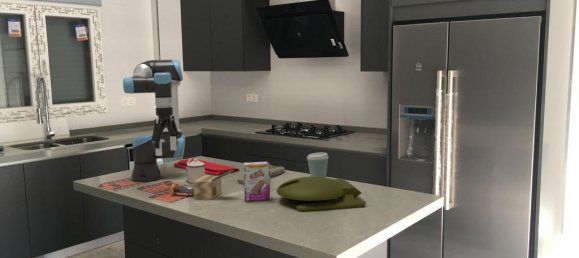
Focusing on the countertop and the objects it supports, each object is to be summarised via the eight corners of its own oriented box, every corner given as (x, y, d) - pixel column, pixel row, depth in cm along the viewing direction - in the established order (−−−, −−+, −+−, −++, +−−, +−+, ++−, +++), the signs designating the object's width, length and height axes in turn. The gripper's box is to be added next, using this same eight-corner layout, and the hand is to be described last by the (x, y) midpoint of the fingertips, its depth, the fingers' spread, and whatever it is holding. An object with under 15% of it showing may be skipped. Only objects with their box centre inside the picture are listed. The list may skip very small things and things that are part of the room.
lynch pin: (170, 196, 222) (169, 185, 221) (175, 193, 227) (175, 182, 226) (196, 197, 218) (196, 186, 218) (201, 194, 223) (201, 183, 223)
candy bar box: (245, 202, 210) (243, 165, 208) (243, 199, 215) (242, 162, 213) (270, 200, 212) (269, 163, 210) (268, 197, 217) (267, 161, 215)
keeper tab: (212, 181, 215) (211, 179, 215) (217, 178, 221) (216, 176, 221) (228, 174, 212) (227, 171, 212) (234, 171, 218) (233, 169, 218)
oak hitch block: (194, 198, 217) (193, 181, 216) (205, 191, 229) (205, 175, 228) (210, 199, 215) (210, 182, 214) (221, 192, 227) (220, 175, 226)
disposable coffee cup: (315, 187, 233) (315, 156, 231) (303, 183, 242) (302, 153, 240) (333, 184, 239) (333, 154, 237) (320, 180, 248) (319, 150, 246)
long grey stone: (232, 186, 245) (247, 189, 239) (232, 176, 244) (247, 179, 238) (275, 169, 273) (289, 172, 267) (274, 160, 272) (289, 163, 266)
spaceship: (345, 189, 230) (345, 169, 228) (367, 208, 199) (367, 184, 198) (272, 194, 224) (271, 173, 222) (283, 214, 194) (282, 190, 192)
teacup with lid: (209, 180, 251) (208, 158, 249) (196, 184, 244) (195, 161, 242) (193, 177, 258) (192, 156, 257) (179, 181, 251) (178, 159, 249)
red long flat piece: (218, 177, 260) (217, 170, 260) (173, 167, 287) (172, 161, 287) (239, 172, 272) (239, 165, 271) (194, 163, 299) (194, 157, 299)
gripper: (157, 109, 208) (160, 158, 211) (184, 104, 232) (186, 148, 235) (141, 109, 210) (144, 157, 213) (170, 104, 234) (172, 147, 237)
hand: (166, 152), depth 224 cm, fingers open, 13 cm apart
